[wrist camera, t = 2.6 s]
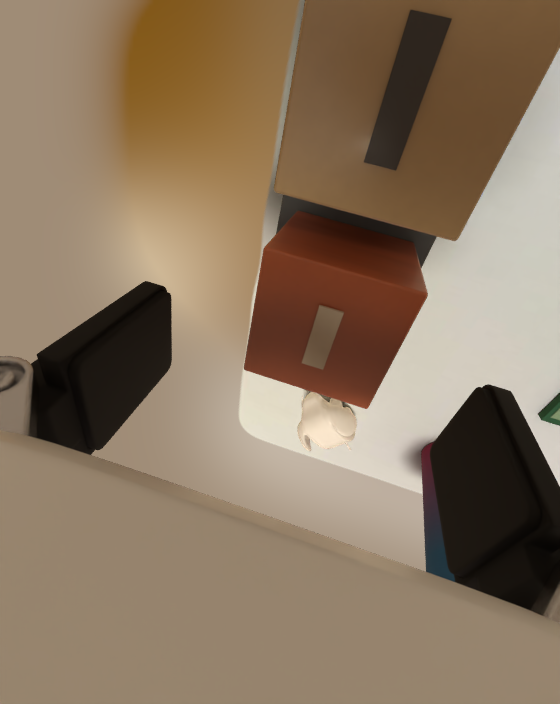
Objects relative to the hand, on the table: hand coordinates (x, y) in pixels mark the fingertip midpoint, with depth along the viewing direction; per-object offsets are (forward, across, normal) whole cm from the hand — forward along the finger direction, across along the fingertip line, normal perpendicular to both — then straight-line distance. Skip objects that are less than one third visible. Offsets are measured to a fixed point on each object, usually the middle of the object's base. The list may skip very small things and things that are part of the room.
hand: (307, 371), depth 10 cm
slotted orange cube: (+6, 0, 0) cm, 7 cm away
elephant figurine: (+21, -4, +20) cm, 29 cm away
